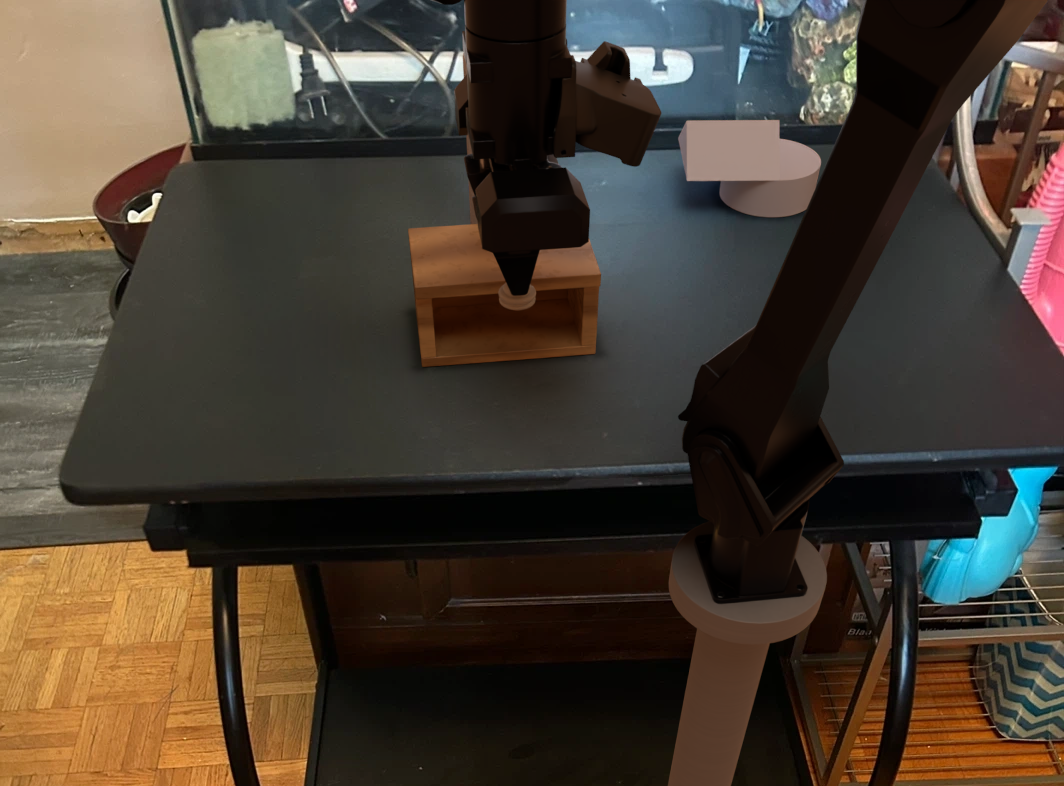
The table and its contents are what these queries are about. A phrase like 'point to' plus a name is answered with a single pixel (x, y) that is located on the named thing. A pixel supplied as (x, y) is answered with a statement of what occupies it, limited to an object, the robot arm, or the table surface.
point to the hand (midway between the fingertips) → (517, 287)
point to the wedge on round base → (751, 165)
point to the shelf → (473, 301)
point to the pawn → (516, 298)
